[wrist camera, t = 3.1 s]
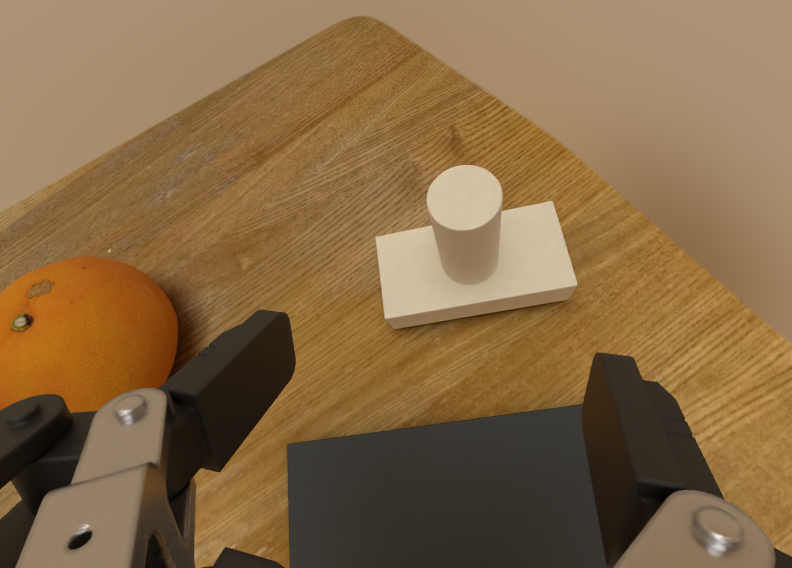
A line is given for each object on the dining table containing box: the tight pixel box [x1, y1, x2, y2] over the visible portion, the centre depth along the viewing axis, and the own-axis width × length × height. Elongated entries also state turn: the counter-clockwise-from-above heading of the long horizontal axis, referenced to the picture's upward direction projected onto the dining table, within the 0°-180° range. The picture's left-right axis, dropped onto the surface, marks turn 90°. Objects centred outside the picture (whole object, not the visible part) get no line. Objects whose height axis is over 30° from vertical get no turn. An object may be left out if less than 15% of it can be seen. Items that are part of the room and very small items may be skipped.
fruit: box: [0, 256, 178, 413], centre depth 24 cm, size 10×10×8 cm
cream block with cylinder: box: [376, 165, 578, 329], centre depth 21 cm, size 10×5×10 cm, turn 97°
